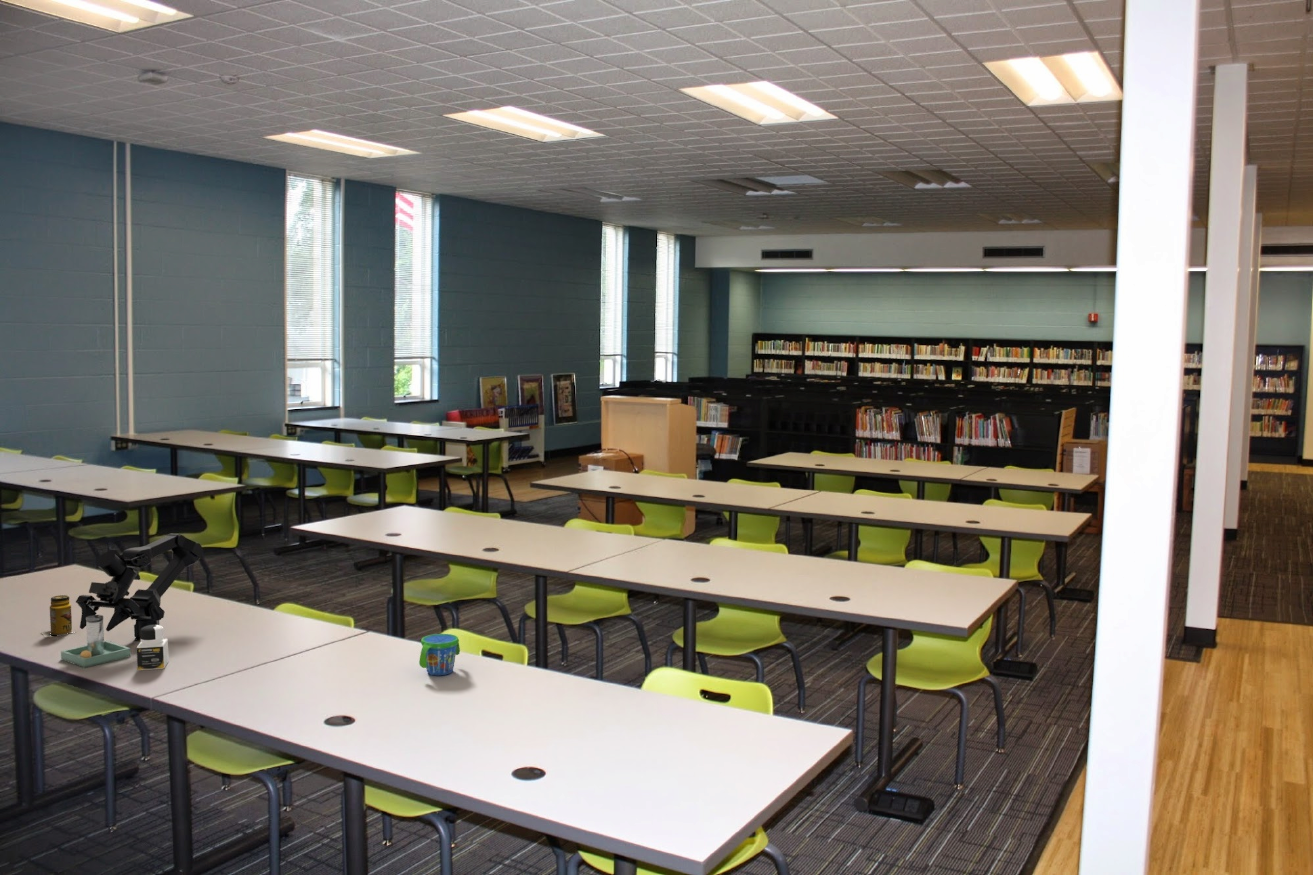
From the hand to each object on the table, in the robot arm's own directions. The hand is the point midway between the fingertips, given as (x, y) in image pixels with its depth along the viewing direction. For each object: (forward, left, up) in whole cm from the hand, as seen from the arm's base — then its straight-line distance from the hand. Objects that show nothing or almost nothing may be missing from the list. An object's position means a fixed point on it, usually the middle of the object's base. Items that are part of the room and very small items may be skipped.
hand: (94, 629), depth 305 cm
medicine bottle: (-19, +11, -9) cm, 24 cm away
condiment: (+21, -30, -9) cm, 38 cm away
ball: (+1, +4, -7) cm, 8 cm away
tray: (0, 0, -9) cm, 9 cm away
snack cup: (-102, +30, -9) cm, 107 cm away
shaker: (0, 0, -8) cm, 8 cm away
